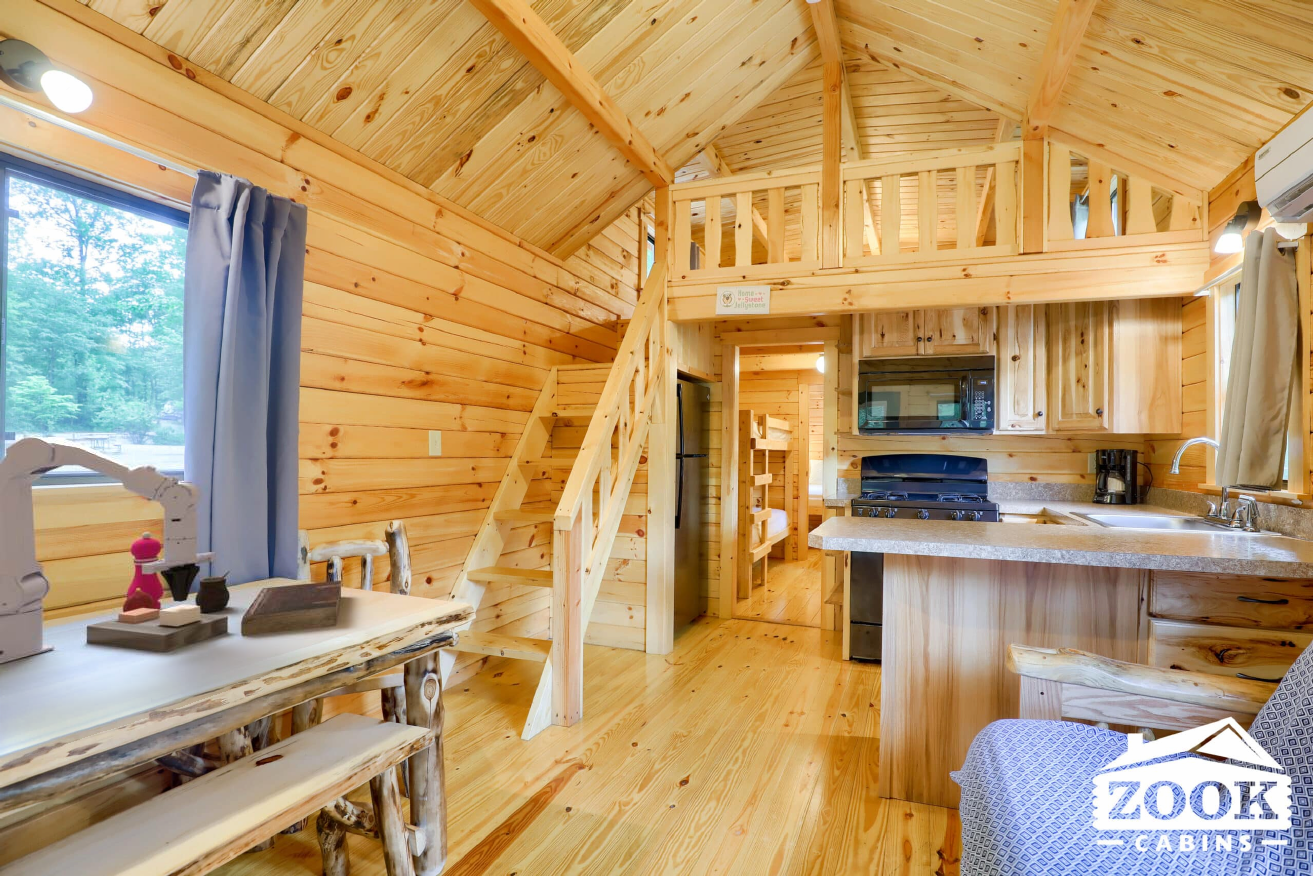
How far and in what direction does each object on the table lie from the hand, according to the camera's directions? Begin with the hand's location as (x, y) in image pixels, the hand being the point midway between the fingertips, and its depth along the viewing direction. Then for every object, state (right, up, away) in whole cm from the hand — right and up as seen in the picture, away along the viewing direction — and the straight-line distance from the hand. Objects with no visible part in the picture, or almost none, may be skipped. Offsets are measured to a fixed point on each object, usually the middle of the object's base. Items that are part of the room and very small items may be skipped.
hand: (180, 600), depth 136 cm
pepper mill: (-25, -9, +21) cm, 34 cm away
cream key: (0, -5, 0) cm, 5 cm away
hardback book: (+14, -9, +20) cm, 26 cm away
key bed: (-6, -8, +2) cm, 10 cm away
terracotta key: (-12, -6, +3) cm, 14 cm away
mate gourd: (-9, -9, +23) cm, 26 cm away
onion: (-19, -9, +13) cm, 25 cm away
